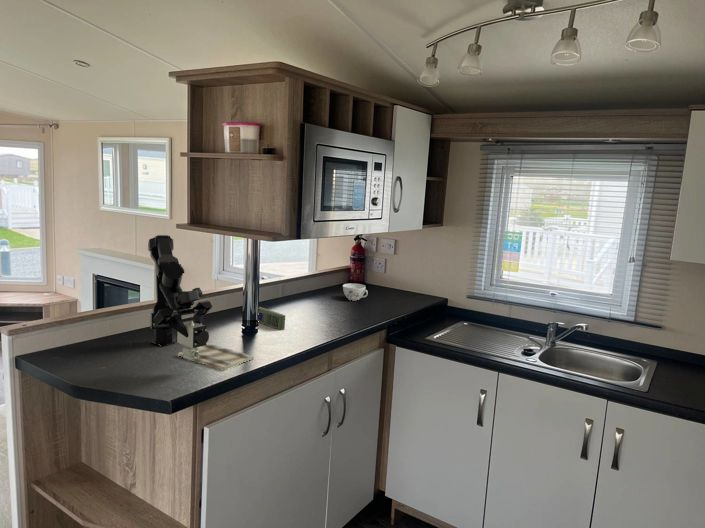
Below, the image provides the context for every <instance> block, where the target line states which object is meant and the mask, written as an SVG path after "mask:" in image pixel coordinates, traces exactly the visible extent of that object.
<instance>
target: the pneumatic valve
mask: <svg viewBox="0 0 705 528" xmlns="http://www.w3.org/2000/svg"><path fill="white" fill-rule="evenodd" d="M183 323H184V325H185V327H186V330H187V333H188V337H185V336H184V335H182V334H181V333H179V332H178V331H176V330H175V329H173V330H174V331H173V335H174V336H175V343H178V344H180V345H183V346H184V347H183V348H182V351H183V354H184V355H183V359H186V360H188V361H191V360H192V359H195V358H199V352H198V350H199V348H197V347H201V346H205V345H206V343H207V344H208V342H209V339H210V334H209V331H207V330H208V325H204V324H203V325H202V324H199V323H194V322H193V321H191V320H186V321H183Z"/></svg>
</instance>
